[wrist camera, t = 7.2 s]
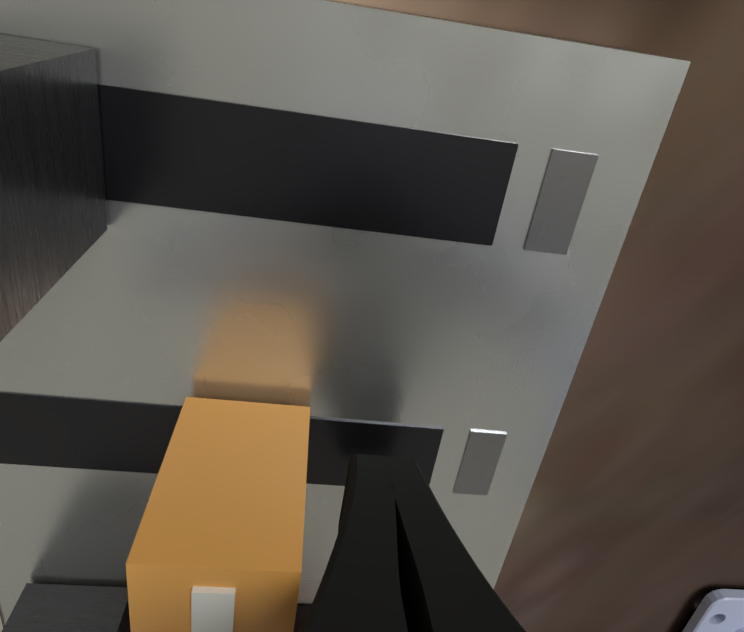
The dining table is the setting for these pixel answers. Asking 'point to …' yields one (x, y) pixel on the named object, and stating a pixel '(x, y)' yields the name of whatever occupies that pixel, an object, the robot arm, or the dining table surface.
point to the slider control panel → (293, 259)
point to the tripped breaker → (223, 522)
